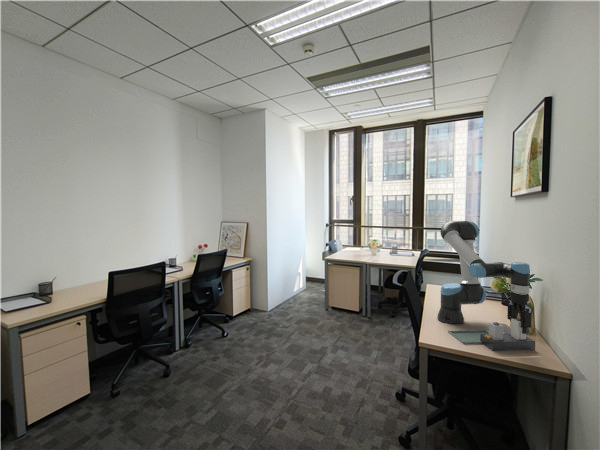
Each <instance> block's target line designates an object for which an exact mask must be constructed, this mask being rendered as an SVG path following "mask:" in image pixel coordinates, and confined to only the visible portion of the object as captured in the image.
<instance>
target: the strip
mask: <svg viewBox="0 0 600 450" xmlns="http://www.w3.org/2000/svg"><path fill="white" fill-rule="evenodd" d="M480 341H482V344H481V345H483V346H485V347H486V348H487V349H489V350H490V351H492V352H498V351H499V352H500V351H502V352H505V351H507V352H509V351H536V340H534V339H532V338H530V337H529V336H527V335H526V340H517V339H515V338H513V337H511V333H503V340H493V339H492V337H490V336H489V334H480Z"/></svg>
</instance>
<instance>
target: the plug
mask: <svg viewBox="0 0 600 450" xmlns="http://www.w3.org/2000/svg"><path fill="white" fill-rule="evenodd" d="M524 325H525V324H524ZM520 326H521V320H520V317H517V318H516V319H511V321H510V327H511V337H513V338H515V339H517V340H521V339H520ZM524 340H526V339H524Z"/></svg>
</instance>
